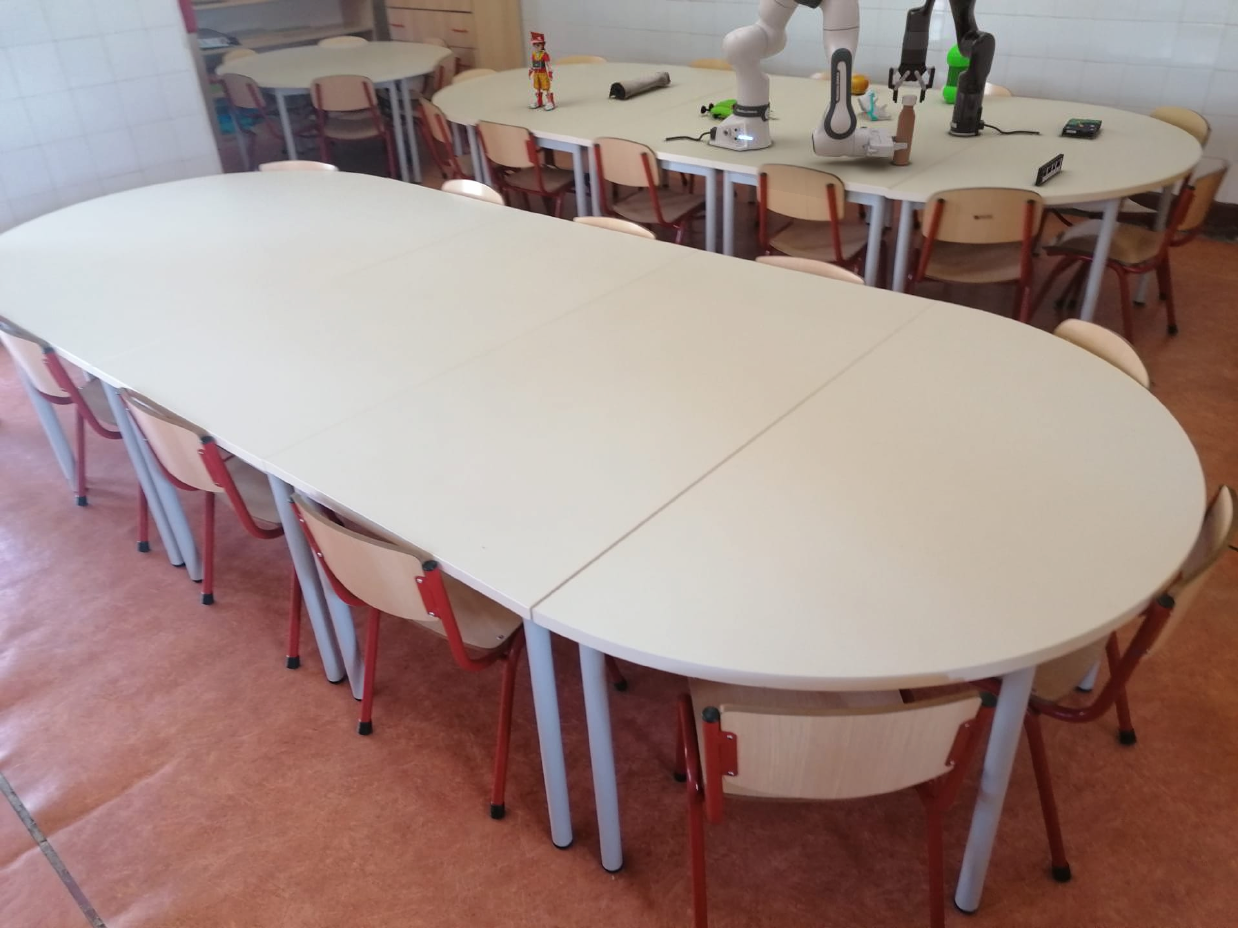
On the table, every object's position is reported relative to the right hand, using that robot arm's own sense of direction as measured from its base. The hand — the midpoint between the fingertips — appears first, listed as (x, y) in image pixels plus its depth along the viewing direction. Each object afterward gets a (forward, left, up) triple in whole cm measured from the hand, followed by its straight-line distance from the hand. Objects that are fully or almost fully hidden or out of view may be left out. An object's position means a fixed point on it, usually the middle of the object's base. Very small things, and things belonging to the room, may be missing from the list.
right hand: (907, 102), depth 284 cm
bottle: (0, 0, -19) cm, 19 cm away
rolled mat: (+106, -102, -19) cm, 148 cm away
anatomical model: (+8, -60, -19) cm, 63 cm away
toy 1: (+144, -76, -19) cm, 163 cm away
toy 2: (+58, -61, -19) cm, 86 cm away
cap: (0, 0, +2) cm, 2 cm away
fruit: (+13, -97, -19) cm, 99 cm away
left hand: (-1, 0, -12) cm, 12 cm away
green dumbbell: (-24, -81, -19) cm, 87 cm away
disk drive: (-62, -37, -19) cm, 75 cm away
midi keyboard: (-43, +15, -19) cm, 49 cm away
